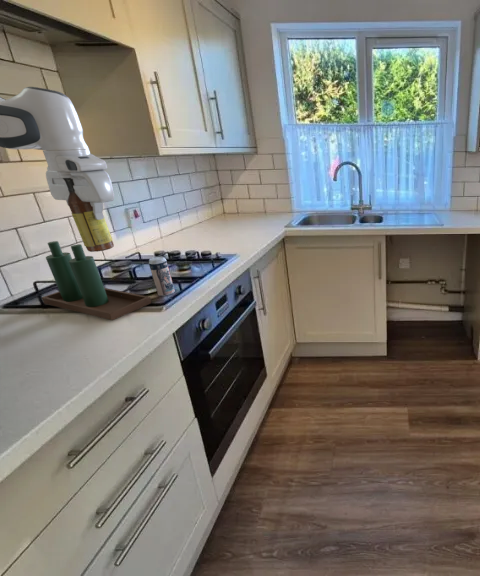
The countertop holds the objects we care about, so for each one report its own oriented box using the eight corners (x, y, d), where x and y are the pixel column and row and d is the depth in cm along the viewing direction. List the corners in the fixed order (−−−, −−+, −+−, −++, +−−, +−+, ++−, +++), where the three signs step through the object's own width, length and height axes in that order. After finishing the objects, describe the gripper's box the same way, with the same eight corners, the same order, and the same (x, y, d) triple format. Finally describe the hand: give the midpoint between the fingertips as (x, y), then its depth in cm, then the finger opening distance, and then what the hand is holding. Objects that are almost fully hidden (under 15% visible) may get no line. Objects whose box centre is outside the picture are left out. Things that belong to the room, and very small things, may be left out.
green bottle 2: (81, 305, 107) (58, 247, 100) (101, 298, 112) (80, 242, 105) (93, 308, 105) (70, 249, 98) (112, 300, 110) (92, 243, 103)
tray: (44, 305, 110) (41, 297, 109) (86, 290, 119) (83, 283, 118) (112, 322, 98) (109, 313, 97) (152, 304, 108) (149, 296, 107)
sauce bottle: (117, 245, 101) (93, 170, 93) (111, 250, 96) (85, 172, 88) (89, 247, 99) (62, 172, 91) (81, 254, 94) (52, 174, 86)
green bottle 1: (59, 300, 111) (35, 243, 104) (79, 293, 116) (58, 239, 109) (70, 303, 109) (47, 245, 102) (90, 295, 114) (69, 240, 107)
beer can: (168, 297, 113) (157, 261, 108) (154, 296, 113) (143, 260, 109) (178, 291, 117) (169, 256, 112) (165, 290, 118) (155, 255, 113)
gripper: (31, 163, 90) (52, 218, 95) (82, 163, 83) (102, 223, 88) (60, 161, 95) (78, 213, 101) (110, 161, 88) (127, 218, 93)
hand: (89, 218), depth 94 cm, fingers closed on sauce bottle, 6 cm apart
